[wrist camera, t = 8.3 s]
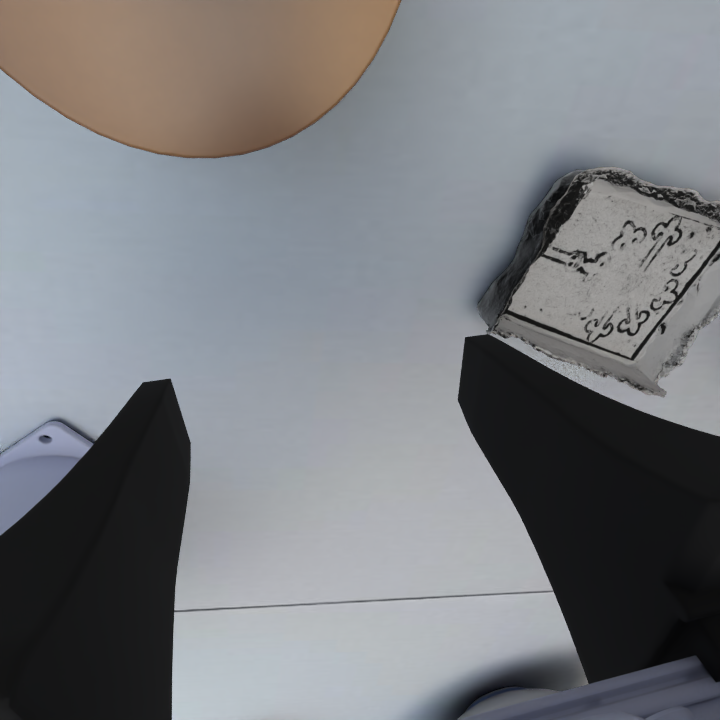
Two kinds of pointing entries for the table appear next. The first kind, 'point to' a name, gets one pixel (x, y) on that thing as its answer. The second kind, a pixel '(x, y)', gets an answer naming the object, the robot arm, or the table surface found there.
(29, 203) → the table surface
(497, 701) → the ramen bowl
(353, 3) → the knobbed round lid
